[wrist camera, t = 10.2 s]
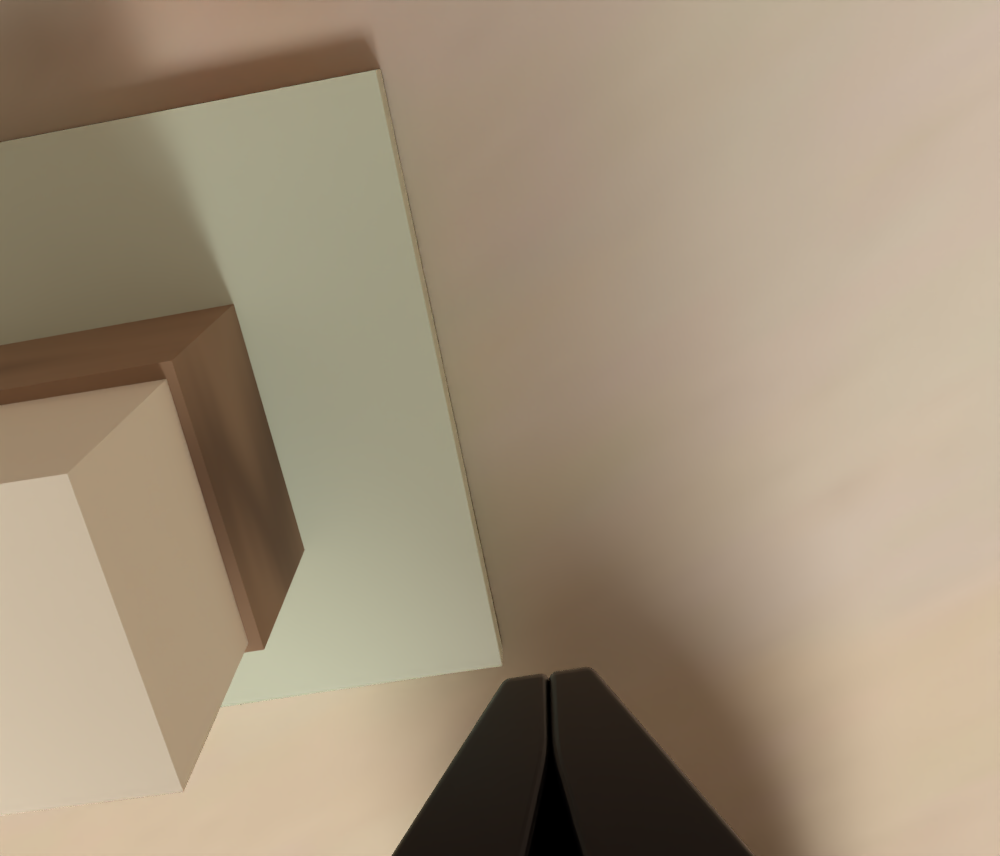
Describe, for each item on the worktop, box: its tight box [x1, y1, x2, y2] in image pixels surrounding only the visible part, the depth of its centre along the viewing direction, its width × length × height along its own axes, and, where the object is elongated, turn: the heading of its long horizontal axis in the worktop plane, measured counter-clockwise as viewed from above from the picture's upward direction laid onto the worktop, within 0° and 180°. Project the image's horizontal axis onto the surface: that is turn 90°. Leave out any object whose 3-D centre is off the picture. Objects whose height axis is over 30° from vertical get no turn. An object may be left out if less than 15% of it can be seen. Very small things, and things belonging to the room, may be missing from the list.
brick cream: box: [0, 379, 248, 816], centre depth 16 cm, size 6×6×4 cm
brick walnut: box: [0, 304, 305, 653], centre depth 19 cm, size 6×6×4 cm
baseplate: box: [0, 69, 502, 707], centre depth 22 cm, size 14×14×1 cm
